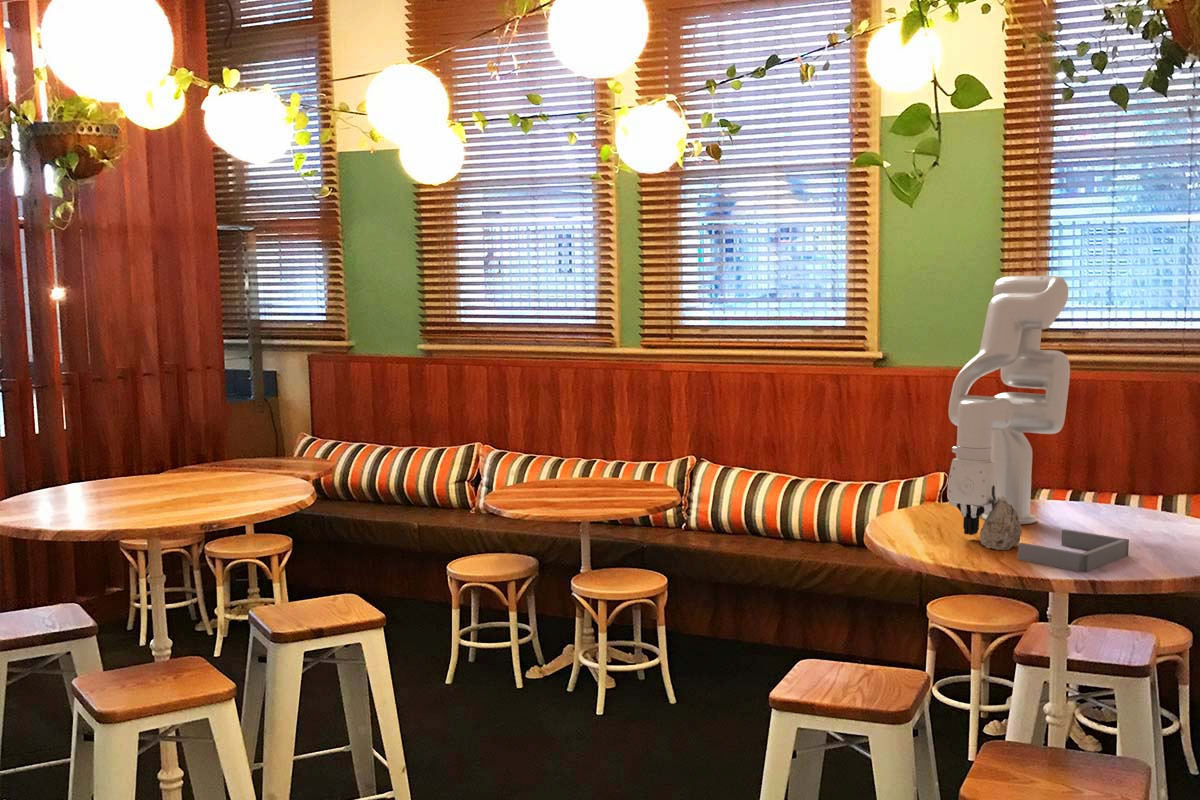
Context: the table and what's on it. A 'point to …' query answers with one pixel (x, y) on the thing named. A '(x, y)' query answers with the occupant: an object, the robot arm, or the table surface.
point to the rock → (1001, 527)
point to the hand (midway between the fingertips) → (970, 533)
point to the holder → (1099, 554)
